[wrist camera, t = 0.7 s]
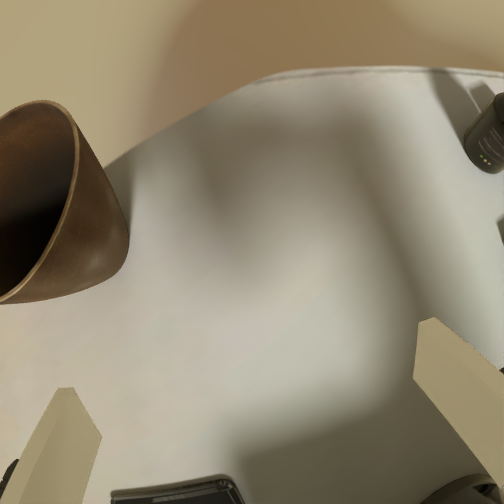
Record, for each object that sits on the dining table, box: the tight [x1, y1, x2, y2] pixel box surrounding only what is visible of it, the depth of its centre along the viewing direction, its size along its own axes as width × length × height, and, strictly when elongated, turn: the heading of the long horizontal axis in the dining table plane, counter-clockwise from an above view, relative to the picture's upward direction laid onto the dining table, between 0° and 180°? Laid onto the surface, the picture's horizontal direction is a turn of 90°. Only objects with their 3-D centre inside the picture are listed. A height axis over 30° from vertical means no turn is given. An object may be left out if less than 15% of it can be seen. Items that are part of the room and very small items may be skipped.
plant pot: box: [0, 100, 129, 305], centre depth 24 cm, size 15×15×16 cm
